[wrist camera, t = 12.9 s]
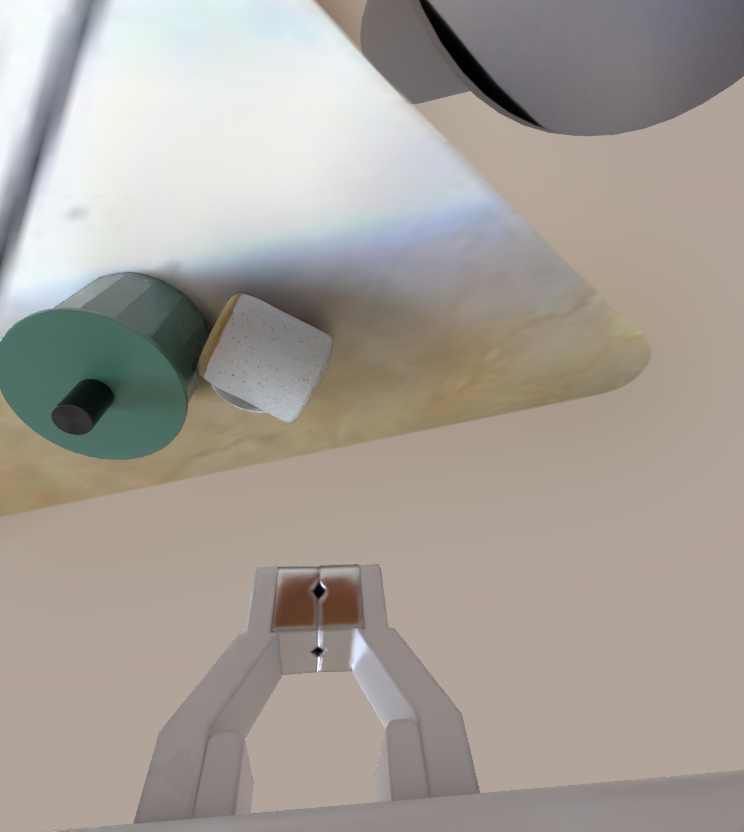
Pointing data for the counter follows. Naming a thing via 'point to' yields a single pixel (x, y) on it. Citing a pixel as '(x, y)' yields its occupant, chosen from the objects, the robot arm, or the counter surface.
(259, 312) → the ceramic mug
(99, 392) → the pot lid
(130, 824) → the robot arm
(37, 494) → the counter surface
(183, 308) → the pot
